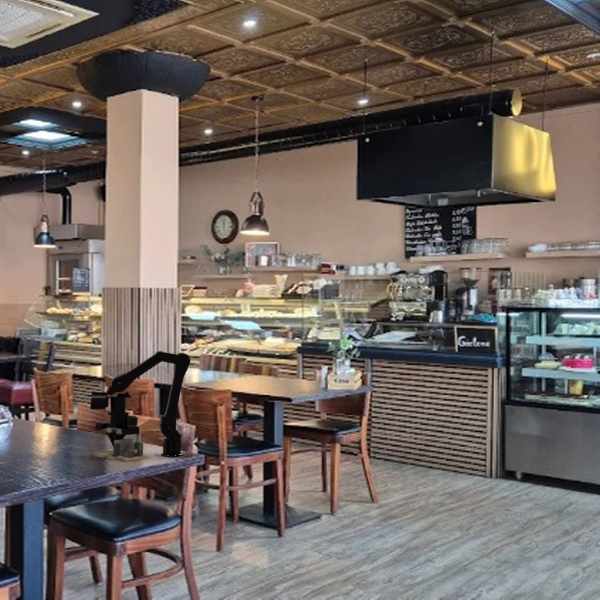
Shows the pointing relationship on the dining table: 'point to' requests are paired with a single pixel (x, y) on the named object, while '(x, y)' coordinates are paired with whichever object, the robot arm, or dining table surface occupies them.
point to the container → (135, 436)
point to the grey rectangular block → (123, 445)
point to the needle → (116, 449)
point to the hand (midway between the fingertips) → (116, 451)
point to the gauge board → (128, 453)
